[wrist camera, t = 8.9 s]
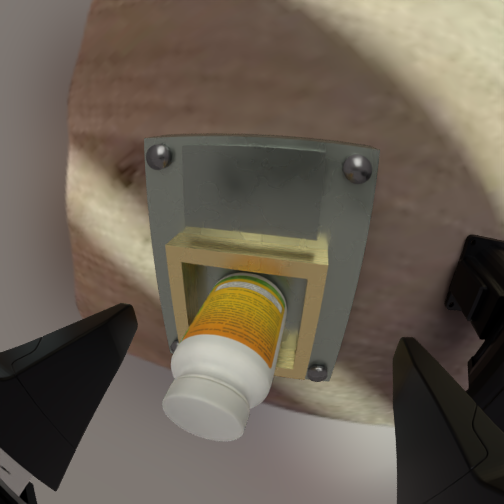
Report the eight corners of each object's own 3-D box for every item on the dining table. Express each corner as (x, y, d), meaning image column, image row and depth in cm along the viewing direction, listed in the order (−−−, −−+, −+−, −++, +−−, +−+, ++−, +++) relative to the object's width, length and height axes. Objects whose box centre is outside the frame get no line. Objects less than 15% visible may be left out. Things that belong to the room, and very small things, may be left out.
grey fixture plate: (370, 145, 16) (388, 153, 12) (329, 356, 24) (328, 400, 20) (166, 134, 19) (125, 141, 15) (183, 332, 27) (161, 368, 22)
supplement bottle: (205, 268, 19) (131, 373, 11) (286, 270, 18) (253, 396, 10) (218, 330, 22) (167, 435, 13) (288, 335, 20) (263, 455, 12)
